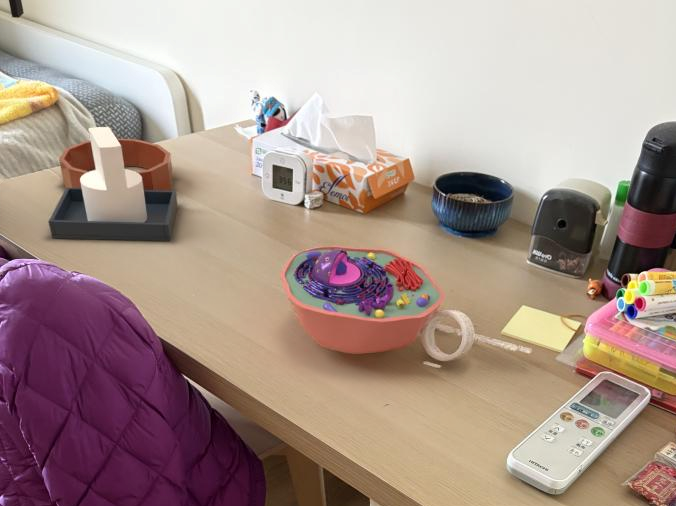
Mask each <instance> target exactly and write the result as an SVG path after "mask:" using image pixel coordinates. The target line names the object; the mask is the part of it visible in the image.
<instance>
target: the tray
mask: <svg viewBox="0 0 676 506" xmlns="http://www.w3.org/2000/svg"><path fill="white" fill-rule="evenodd" d="M144 197H145V204H146V212H147V220H146V221H145V222H144V223H142V222H106V221H88V219H87V214H86V209H85V203H84V198H83V193H82V188H72V187H71V188H70V187H65V189H64V191H63V193H62V195H61V196H60V198H59V200H58V202H57V205H56V206H55V208H54V210H53V212H52V214H51V216H50V218H49V219H48V222H47V223H48V226H49V230H50V234H51V238H52V239H65V240H104V241H105V240H108V241H110V240H111V241H145V242H147V241H149V242H151V241H152V242H171V238H172V234H173V230H174V224H175V220H176V216H177V211H178V207H179V205H178V196H177V190H169V191H163V190H144Z"/></svg>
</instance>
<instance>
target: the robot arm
mask: <svg viewBox="0 0 676 506" xmlns="http://www.w3.org/2000/svg"><path fill="white" fill-rule="evenodd" d="M8 3H9V9H10V14H11V18H15V19H16V18H17V19H19V18H21V16H23V15H24V7H23V3H22V0H8Z"/></svg>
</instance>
